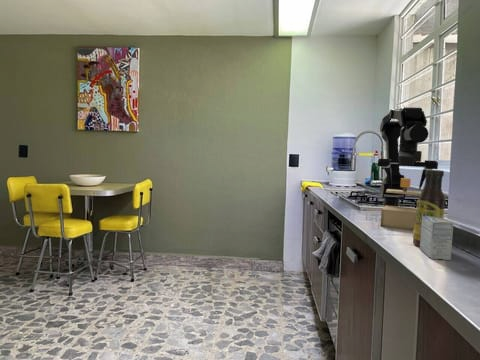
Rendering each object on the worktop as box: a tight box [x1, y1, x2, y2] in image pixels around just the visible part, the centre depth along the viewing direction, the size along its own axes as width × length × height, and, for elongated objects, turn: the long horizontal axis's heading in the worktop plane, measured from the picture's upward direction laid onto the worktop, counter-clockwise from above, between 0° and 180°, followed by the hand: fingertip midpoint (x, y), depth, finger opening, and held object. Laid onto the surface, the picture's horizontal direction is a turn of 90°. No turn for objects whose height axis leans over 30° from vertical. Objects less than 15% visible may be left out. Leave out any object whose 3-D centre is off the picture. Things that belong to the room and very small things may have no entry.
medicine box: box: [419, 216, 454, 261], centre depth 81 cm, size 8×4×9 cm, turn 168°
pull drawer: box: [386, 177, 422, 196], centre depth 122 cm, size 7×12×5 cm, turn 63°
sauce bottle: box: [412, 169, 446, 247], centre depth 89 cm, size 6×6×20 cm
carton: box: [380, 205, 417, 231], centre depth 117 cm, size 15×12×6 cm
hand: (405, 188), depth 122 cm, fingers open, 9 cm apart
